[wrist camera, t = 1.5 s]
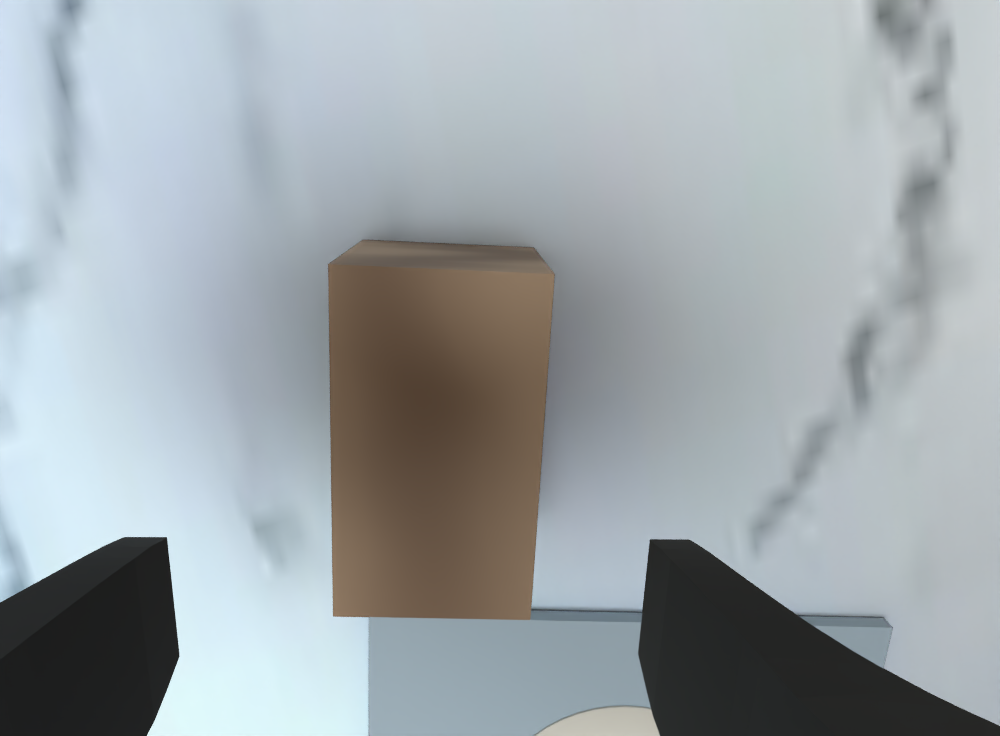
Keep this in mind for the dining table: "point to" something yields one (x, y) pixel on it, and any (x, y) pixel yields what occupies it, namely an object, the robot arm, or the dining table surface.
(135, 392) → the dining table surface
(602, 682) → the rubber mat
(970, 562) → the dining table surface
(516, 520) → the walnut block
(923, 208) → the dining table surface
